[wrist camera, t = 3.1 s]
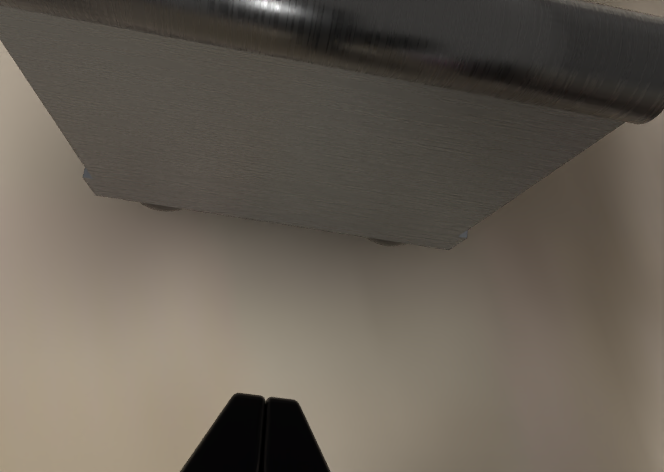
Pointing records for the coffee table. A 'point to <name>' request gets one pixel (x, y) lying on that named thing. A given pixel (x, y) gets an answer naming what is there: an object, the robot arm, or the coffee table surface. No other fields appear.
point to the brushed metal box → (335, 102)
